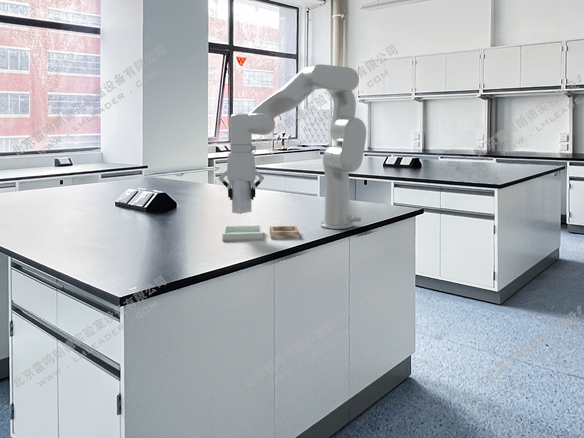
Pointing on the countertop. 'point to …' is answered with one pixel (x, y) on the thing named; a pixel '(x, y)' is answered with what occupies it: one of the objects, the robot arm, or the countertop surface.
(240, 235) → the tray
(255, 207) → the countertop surface
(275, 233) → the wooden square frame
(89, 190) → the countertop surface
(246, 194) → the skincare box
